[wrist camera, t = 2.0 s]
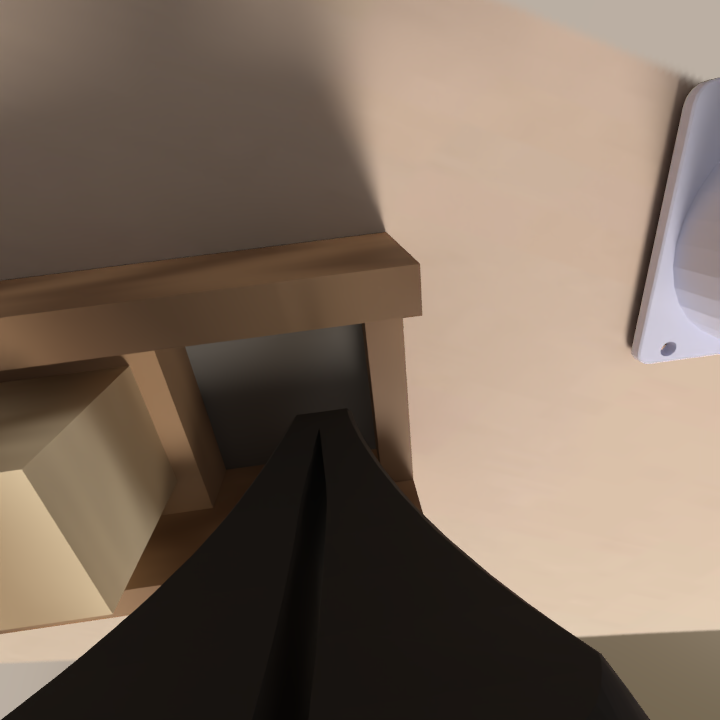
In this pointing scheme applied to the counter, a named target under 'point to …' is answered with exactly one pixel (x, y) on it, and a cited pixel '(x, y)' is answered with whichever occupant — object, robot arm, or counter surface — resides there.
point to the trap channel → (229, 363)
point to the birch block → (75, 493)
